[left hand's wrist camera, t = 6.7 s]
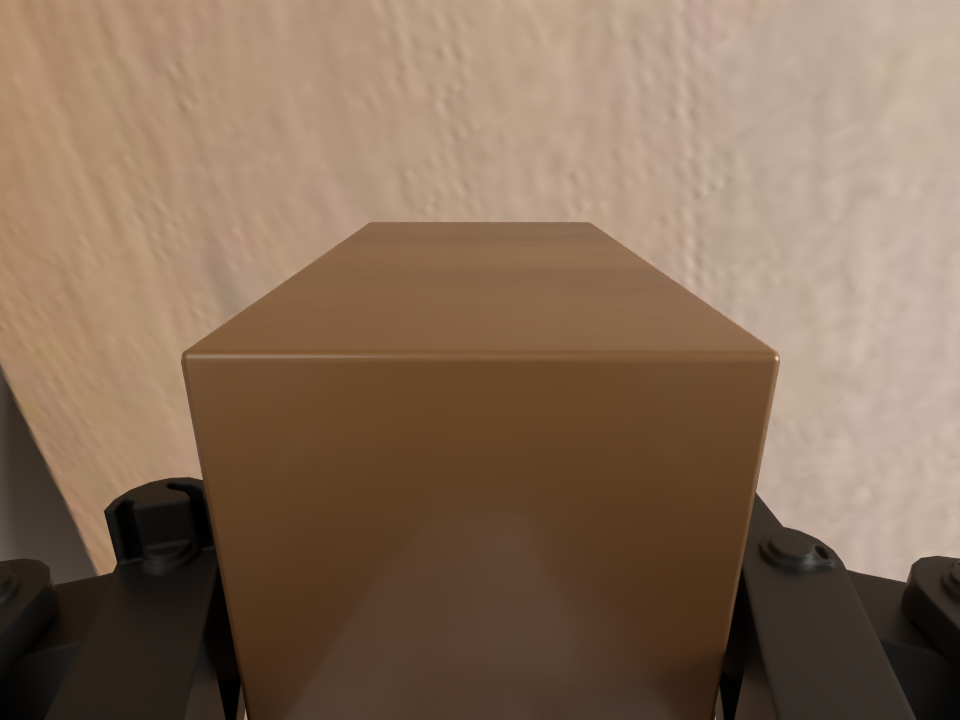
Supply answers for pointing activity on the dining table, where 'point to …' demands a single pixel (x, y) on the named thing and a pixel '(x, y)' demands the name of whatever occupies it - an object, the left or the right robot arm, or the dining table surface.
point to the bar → (480, 479)
